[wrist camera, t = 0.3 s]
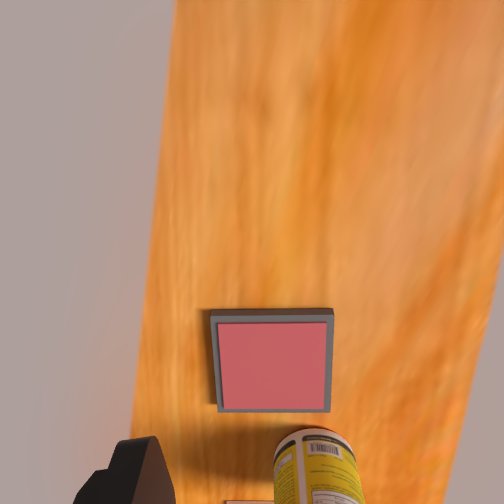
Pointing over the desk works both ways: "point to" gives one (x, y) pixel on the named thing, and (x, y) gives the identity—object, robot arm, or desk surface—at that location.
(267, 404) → the ink pad
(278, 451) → the pill bottle
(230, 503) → the card
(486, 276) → the desk surface
